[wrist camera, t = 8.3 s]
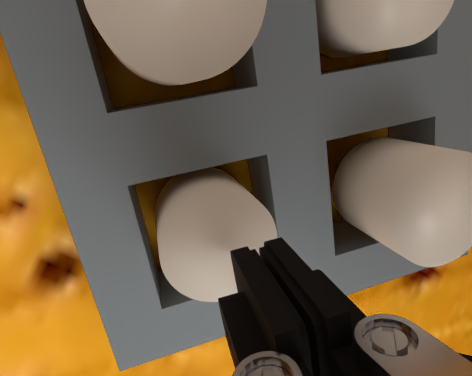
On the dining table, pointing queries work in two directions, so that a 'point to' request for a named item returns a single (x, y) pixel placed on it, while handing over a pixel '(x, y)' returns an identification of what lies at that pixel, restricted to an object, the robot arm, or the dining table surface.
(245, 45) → the button
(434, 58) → the board
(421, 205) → the button
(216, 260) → the button
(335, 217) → the dining table surface
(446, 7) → the button
